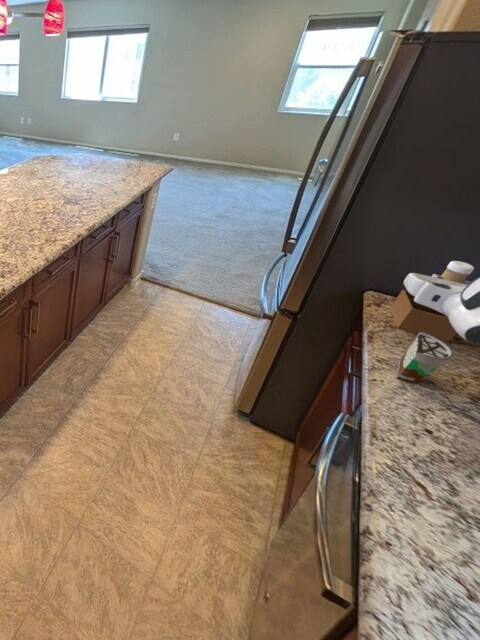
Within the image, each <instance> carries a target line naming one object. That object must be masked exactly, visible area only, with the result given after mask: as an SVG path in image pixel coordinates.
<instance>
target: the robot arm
mask: <svg viewBox="0 0 480 640" xmlns="http://www.w3.org/2000/svg"><path fill="white" fill-rule="evenodd" d="M442 278H443V277H442V274H436V273H433V274H432V275H425V274H421V273H418V272H417V273H416V272H410V273H408V274H407V275H406V276H405V278H404V280H403V286H404V288H405V290H406V291H408V292H409V293H410V294H411V295H413V296H415V298H414V301H415V302H416V303H419V304H421V305H424V306H427V307H429V308H432V309H434V310H436V311H438V312H440V313H442V314H444V315H446V316H447V317H448V318H449V322H450V323H451V325H452V327H453V328H454V330H455V331H456V332H457V333H456V334H458V336H459V337H461V338H462V339H463V340H465V341H466V342H468V343H469V344H473V345H476V346H478V347H480V276H477V277H476V278H475V279H473V280H472V281H469V280H466V279H465V280H464V281H463V283H458V282H454V281H449V280H445V279H442Z"/></svg>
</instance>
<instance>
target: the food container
mask: <svg viewBox="0 0 480 640" xmlns="http://www.w3.org/2000/svg"><path fill="white" fill-rule="evenodd" d="M451 359H452V350H451V348H450V347H449V346H448V345H446V344H445V343H444V342H443V341H442V340H440V339H436V338H434V337H432V336H430V335H428V334H426V333H423V332H420V333H419V334H418V333H417V335H416V337H415V338H414V340H413V341H412V342H411V344H410V345H409V347H408V348H407V349H406V351H405V352H404V354H403V355H401V357H400V359H399V361H398V367H397V373H396V380H397V379H398V380H400V381H403V382H407V383H410V384H422V383H423V382H424V381H425V380H427V379H428V377H430V376H431V375H432V374H433V373H434V372H435V371H436V370H437V369H439V367H440V366H446V365H448V364H449V363H450V362H451Z"/></svg>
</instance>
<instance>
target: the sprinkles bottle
mask: <svg viewBox="0 0 480 640" xmlns="http://www.w3.org/2000/svg"><path fill="white" fill-rule="evenodd" d="M474 270H475V267H474V266H473V265H471V264H470V263H467V262H464V261H459V260H451V261H450V262H449V263H448V264H447V266H446V269H445V270H444V271H443V273H442V274H441V276H442V277H443V278H442V279H445V280H449V281H454V282H458V283H463V281H464V280H465V281H466V279H467V277H469V276H470V274H472V273H473V271H474Z"/></svg>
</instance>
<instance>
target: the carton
mask: <svg viewBox="0 0 480 640" xmlns="http://www.w3.org/2000/svg"><path fill="white" fill-rule="evenodd" d="M414 298H415V296H413V295H411V294H410V293H409V292H408V290H407V289H402V290H401V291H400V292H399V294H398V295H397V297H396V298H395V299H394V301H393V302H392V303H391V306H389V310H390V312H391V315H392V317H393V319H394V323H395V325H396V328H397V329H399V330H404V331H407V332H410V333H415V334H417V335H418V334H419V333H420V332H423V333H426V334H428V335H430V336H432V337H434V338H436V339H438V340H440V341H444V342H448V343H449V342H450V341H451V340H452V339H453V338H454V337H455V335H456V334H458V333H457V332H456V331H455V330H454V328H453V327H452V325H451V323H450V322H449V318H448V317H447V316H446V315H444V314H442V313H440V312H438V311H436V310H434V309H432V308H429V307H427V306H424V305H421V304H419V303H416V302H415V301H414Z"/></svg>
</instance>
